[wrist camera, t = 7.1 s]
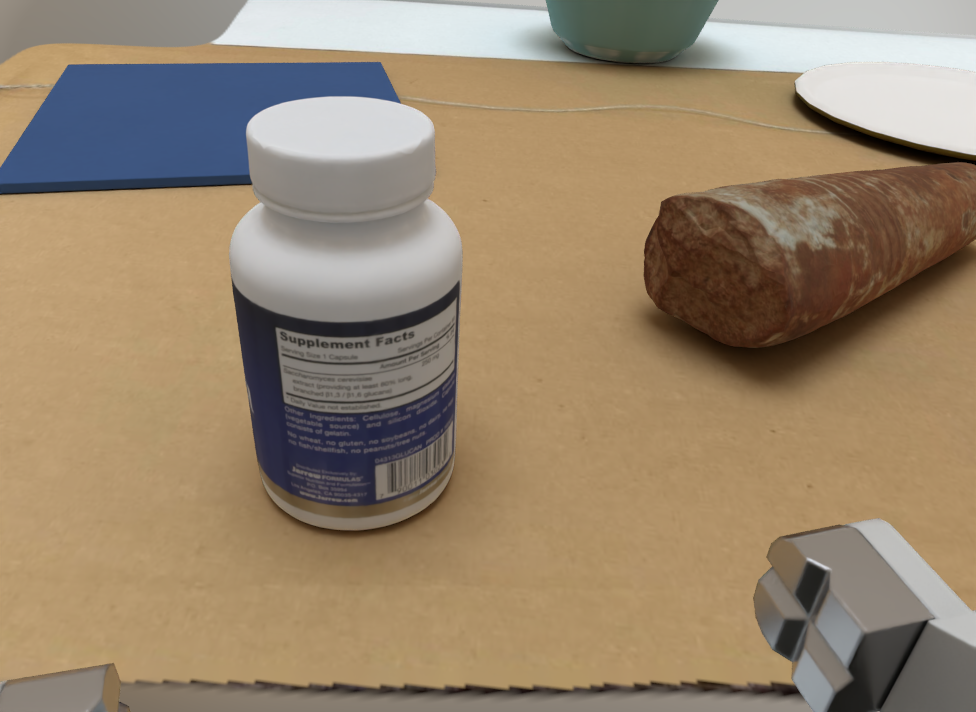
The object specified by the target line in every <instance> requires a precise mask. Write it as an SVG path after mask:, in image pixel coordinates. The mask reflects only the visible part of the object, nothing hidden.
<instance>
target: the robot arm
mask: <svg viewBox="0 0 976 712" xmlns="http://www.w3.org/2000/svg"><path fill="white" fill-rule="evenodd" d="M766 557H767V559H768V560H769V562H770V564H771V565H772V567H771V568H770V569H769V570H768V571H767V572H766V573H765V574H764V575H763V576H762V577H761V578H760V579H759V580H758V583H757V586H756V590H755V593H754V597H753V599H754V607H755V615H756V619H757V622H758V624H759V627H760V629H761V632H762V634H763V636H764V637H765V639H766V640H767V642H768V643H769V645H770V647H771V648H772V650H774V651H775V652H777V653H779V654H780V655H782V656H783V657H785V658H787V659H788V660H790V661H792V680H793V682H794V683H795V685H796V686H797V688H798V689H799V691H800V692H801V694H802V695H803V697H804V698H805V700H806V702H807V703H808V705H809V706H810V707H811V709H812V710H813V712H877V711H880V712H976V610H973V611H971V610H970V609H969V608H968V607H967V605H966V604H965V603H964V602H963V601H962V600H961V599H960V598H959V597H958V596H957V595H956V594H955V593H954V592H953V590H952V589H951V588H950V587H949V586H948V585H947V584H946V583H945V582H944V581H943V580H942V579H941V578H940V577H939V576H938V574H937V573H936V572H935V571H934V570H933V569H932V568H931V567H930V566H929V565H928V564H927V563H926V562H925V561H924V560H923V558H922V557H921V556H920V555H919V554H918V553H917V552H916V551H915V550H914V549H913V548H912V547H911V546H910V545H909V543H908V542H907V541H906V540H905V539H904V538H903V537H902V536H901V535H900V534H899V533H898V532H897V531H896V530H895V529H894V527H893V526H892V525H890V524H889V523H887V522H885V521H883V520H881V519H880V518H878V519H871V520H865V521H860V522H855V523H850V524H846V525H835V526H830V527H825V528H820V529H815V530H810V531H805V532H800V533H796V534H791V535H786V536H781V537H779V538H777V539H776V540H775V541H774V542H773V543H771V546H770V548H769V551H768V554H767V556H766ZM120 685H121V681H120V678H119V675H118V673H117V670H116V668H115V665H114V663H112V664H105V665H99V666H93V667H87V668H81V669H75V670H68V671H62V672H56V673H50V674H44V675H38V676H32V677H25V678H19V679H13V680H7V681H1V682H0V712H130V709H129V706H127V705H125V704H123V703H121V702H119V695H120Z"/></svg>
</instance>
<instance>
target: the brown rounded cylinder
mask: <svg viewBox="0 0 976 712" xmlns="http://www.w3.org/2000/svg"><path fill="white" fill-rule="evenodd" d="M975 239H976V165H973V164H970V163H963V162H954V163H942V164H935V165H926V166H910V167H900V168H892V169H885V170H873V171H855V172H845V173H836V174H827V175H817V176H808V177H800V178H791V179H774V180H769V181H764V182H757V183H749V184H740V185H731V186H724V187H719V188H715V189H711V190H707V191H705V192H696V193H684V194H679V195H675V196H672V197H669V198H667V199H665V200H664V201H662V202H661V207H660V212H659V216H658V218H657V219H656V221H655V223H654V225H653V226H652V228H651V230H650V232H649V235H648V237H647V239H646V243H645V249H644V255H645V260H644V280H645V286H646V290H647V293H648V295H649V296H650V298H651V299H652V300H653V302H654V303H655V304H656V306H657V307H658V308H659V309H661V310H662V311H664V312H666V313H667V314H669V315H672V316H675V317H677V318H679V319H681V320H682V321H684V322H686V323H688V324H690V325H691V326H693V327H694V328H696V329H698V330H700V331H702V332H704V333H705V334H707V335H709V336H710V337H712V338H713V339H714V340H716V341H719V342H721V343H724V344H727V345H731V346H741V347H758V348H760V347H767V346H773V345H777V344H781V343H784V342H787V341H790V340H793V339H796V338H799V337H801V336H803V335H806V334H808V333H811V332H813V331H814V330H816V329H818V328H820V327H822V326H824V325H827V324H829V323H831V322H833V321H835V320H837V319H840V318H842V317H844V316H846V315H848V314H850V313H852V312H853V311H855V310H857V309H858V308H860V307H862V306H864V305H865V304H867V303H869V302H871V301H872V300H874V299H875V298H878V297H880V296H882V295H884V294H885V293H886V292H888V291H890V290H892V289H894V288H896V287H897V286H899V285H900V284H902V283H903V282H905V281H907V280H909V279H910V278H912V277H914V276H916V275H917V274H918V273H920V272H922V271H923V270H925V269H927V268H929V267H931V266H932V265H934V264H936V263H938V262H940V261H942V260H944V259H945V258H947V257H948V256H950V255H952V254H953V253H955V252H957V251H958V250H960V249H962V248H963V247H965V246H966V245H968V244H969V243H970V242H972V241H974V240H975Z"/></svg>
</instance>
